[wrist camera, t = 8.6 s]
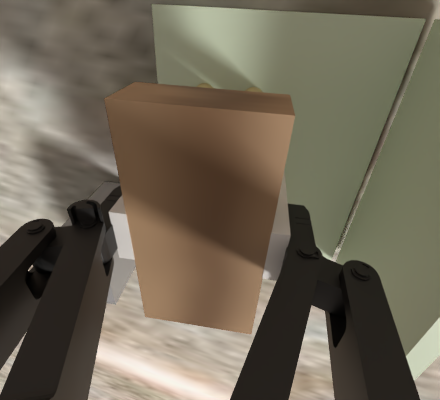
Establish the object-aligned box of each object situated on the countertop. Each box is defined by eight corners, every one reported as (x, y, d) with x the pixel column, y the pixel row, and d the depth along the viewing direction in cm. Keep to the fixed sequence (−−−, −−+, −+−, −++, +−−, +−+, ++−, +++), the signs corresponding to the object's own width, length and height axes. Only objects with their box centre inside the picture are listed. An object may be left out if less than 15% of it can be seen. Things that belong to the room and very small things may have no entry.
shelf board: (159, 281, 18) (145, 316, 16) (135, 81, 11) (104, 98, 9) (253, 295, 17) (251, 334, 15) (289, 94, 10) (295, 115, 8)
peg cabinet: (173, 230, 25) (120, 350, 16) (157, 4, 16) (9, -3, 7) (348, 253, 24) (395, 399, 15) (450, 20, 14) (754, 37, 5)
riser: (119, 249, 28) (88, 300, 23) (104, 181, 23) (61, 226, 19) (142, 252, 28) (115, 304, 23) (131, 184, 23) (95, 231, 18)
